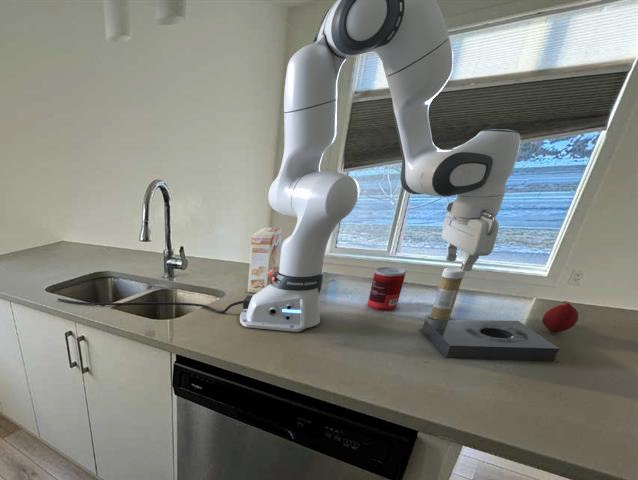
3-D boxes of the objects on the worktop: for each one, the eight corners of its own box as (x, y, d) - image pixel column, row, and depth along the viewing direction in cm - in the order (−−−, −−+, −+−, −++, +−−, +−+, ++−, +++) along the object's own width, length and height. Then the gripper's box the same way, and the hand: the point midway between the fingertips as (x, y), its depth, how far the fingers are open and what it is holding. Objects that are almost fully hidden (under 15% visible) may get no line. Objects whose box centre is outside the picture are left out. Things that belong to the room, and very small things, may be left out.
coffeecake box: (267, 294, 140) (272, 235, 130) (246, 292, 144) (250, 235, 134) (277, 282, 151) (282, 227, 141) (257, 280, 154) (262, 227, 145)
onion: (564, 329, 100) (579, 298, 96) (574, 338, 95) (591, 306, 91) (533, 327, 102) (547, 296, 98) (542, 336, 97) (556, 304, 94)
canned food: (397, 303, 123) (406, 267, 117) (395, 312, 117) (405, 274, 112) (368, 301, 127) (376, 265, 121) (365, 309, 121) (374, 272, 116)
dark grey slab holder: (446, 357, 93) (450, 345, 91) (421, 330, 106) (424, 319, 104) (553, 361, 87) (559, 348, 86) (513, 331, 101) (518, 320, 99)
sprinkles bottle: (452, 317, 111) (469, 268, 104) (444, 322, 109) (461, 272, 102) (433, 313, 114) (448, 266, 107) (426, 318, 112) (440, 269, 105)
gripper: (514, 213, 88) (491, 276, 94) (472, 201, 104) (455, 255, 111) (480, 215, 89) (460, 277, 96) (444, 202, 106) (429, 256, 113)
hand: (457, 265), depth 104 cm, fingers open, 8 cm apart
